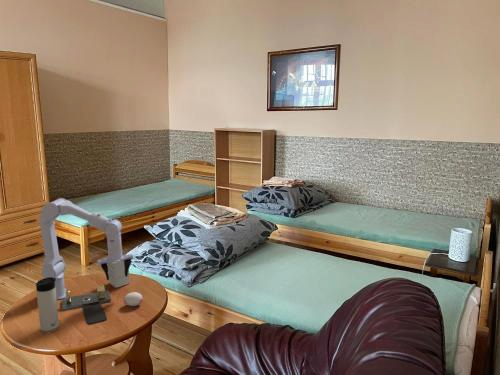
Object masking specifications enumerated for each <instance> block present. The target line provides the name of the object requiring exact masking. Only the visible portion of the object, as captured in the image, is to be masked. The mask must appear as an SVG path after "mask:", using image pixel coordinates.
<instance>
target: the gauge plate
mask: <svg viewBox="0 0 500 375" xmlns="http://www.w3.org/2000/svg"><path fill="white" fill-rule="evenodd" d="M65 292H66V298H62V299H61V311H68V310H74V309H78V308H83V307H87V306H91V305H95V304H101V305H102V304H105V303H111V302H112V299H111V295H110V290H105V296H106V298H100V299H98V295H97V291H96V292H92V293H91V292H90V293H86V294H81V295H74V296H71V290H69V289H66V291H65Z"/></svg>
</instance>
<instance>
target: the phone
mask: <svg viewBox="0 0 500 375" xmlns="http://www.w3.org/2000/svg"><path fill="white" fill-rule="evenodd" d="M82 311H83V312H82V313H83V316H84V319H85V321H86V324H87V325H88V326H90V325H95V324H98V323H103V322H106V321H107V320H108V318H107V315H106V312H105V311H104V308H103V306H102V303H101V304H95V305H90V306H85V307H82Z"/></svg>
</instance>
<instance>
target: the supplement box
mask: <svg viewBox="0 0 500 375" xmlns="http://www.w3.org/2000/svg"><path fill="white" fill-rule="evenodd" d="M107 266H108V275H109V280H108V284H110V285H111V286H112V287H113V288H116V289H118V288H119V287H123V286H127V285H129V284H130V283H131V281H130V269H129V270H128V274H127V277H126V276H125V267H124V261H120V262H116V263H115V262H114V263H109V264H107Z"/></svg>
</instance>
